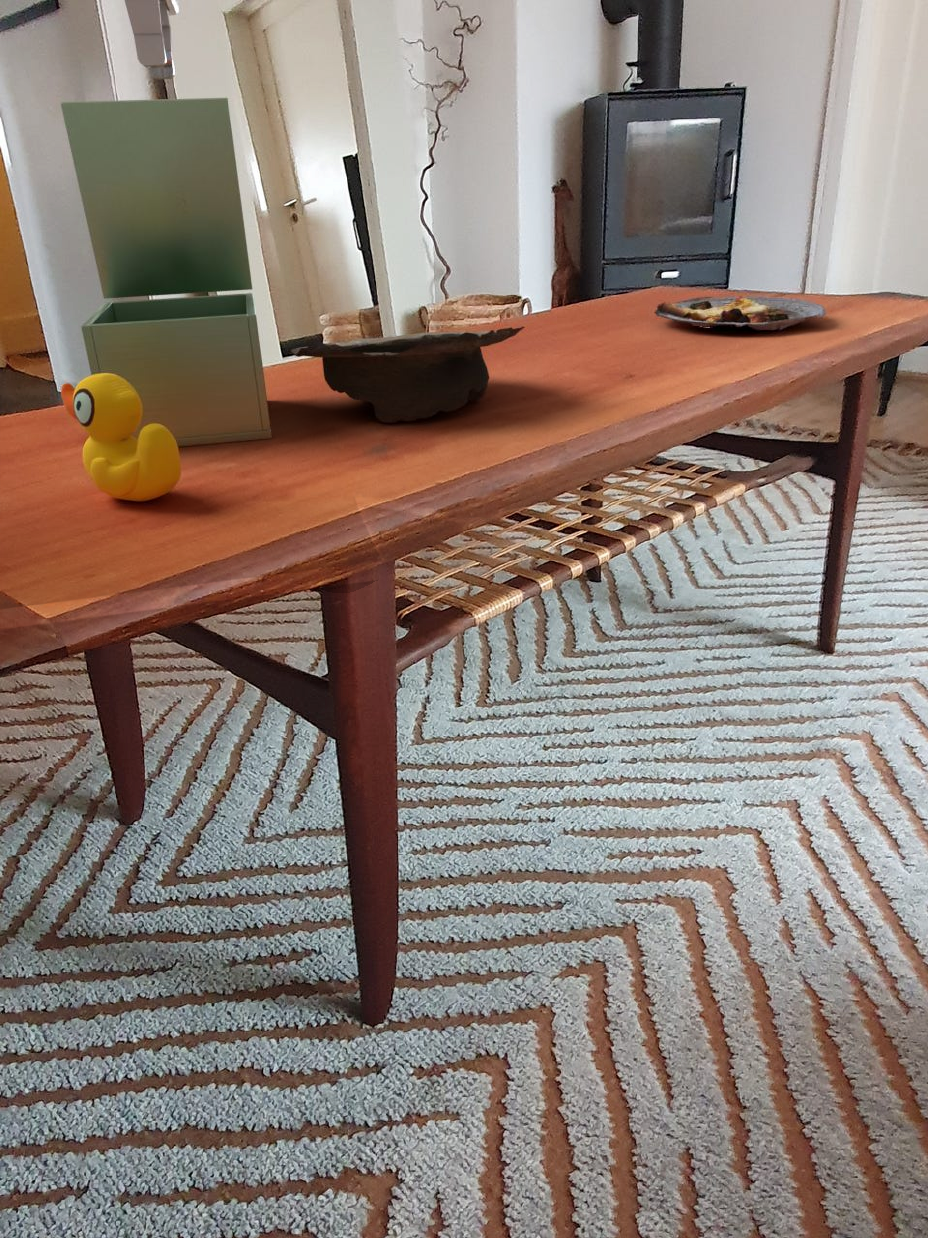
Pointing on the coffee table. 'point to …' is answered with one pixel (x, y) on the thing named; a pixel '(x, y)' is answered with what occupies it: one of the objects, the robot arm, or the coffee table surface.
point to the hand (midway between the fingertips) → (158, 72)
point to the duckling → (122, 440)
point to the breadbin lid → (160, 195)
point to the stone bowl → (409, 371)
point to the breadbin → (186, 364)
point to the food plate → (741, 311)
